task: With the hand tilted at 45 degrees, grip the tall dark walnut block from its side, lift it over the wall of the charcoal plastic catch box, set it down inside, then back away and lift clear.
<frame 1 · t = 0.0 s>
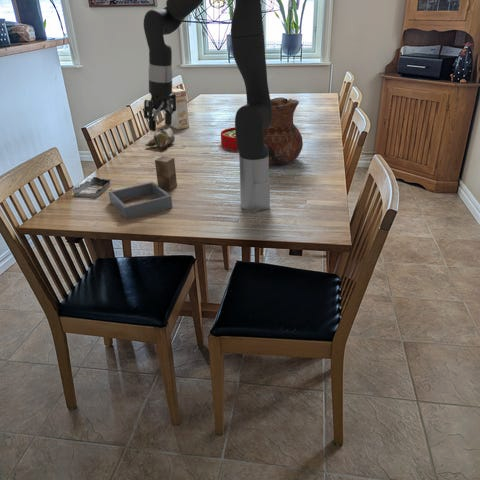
hand: (160, 127, 148), 22 cm above the table, fingers open, 8 cm apart
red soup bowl: (242, 144, 206), on the table
coffeecake box: (177, 126, 239), on the table
ceramic sculpture: (163, 146, 206), on the table
walnut block: (167, 187, 160), on the table
catch box: (140, 204, 146), on the table
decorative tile: (95, 191, 160), on the table
jug: (276, 161, 183), on the table
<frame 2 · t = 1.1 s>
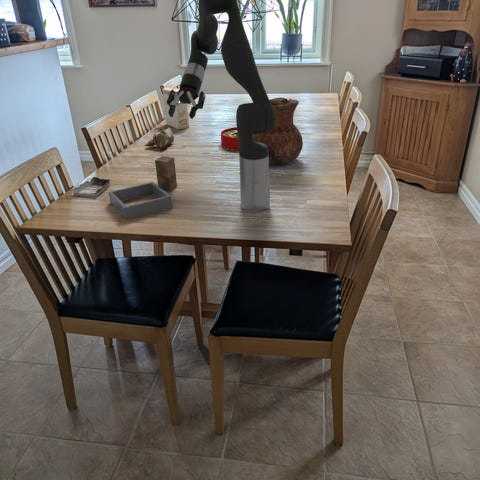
hand: (180, 116, 160), 23 cm above the table, fingers open, 8 cm apart
nothing on the table moved.
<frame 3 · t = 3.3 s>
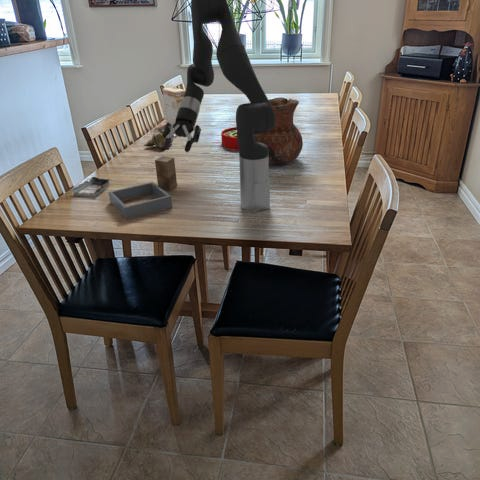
hand: (176, 150, 160), 12 cm above the table, fingers open, 8 cm apart
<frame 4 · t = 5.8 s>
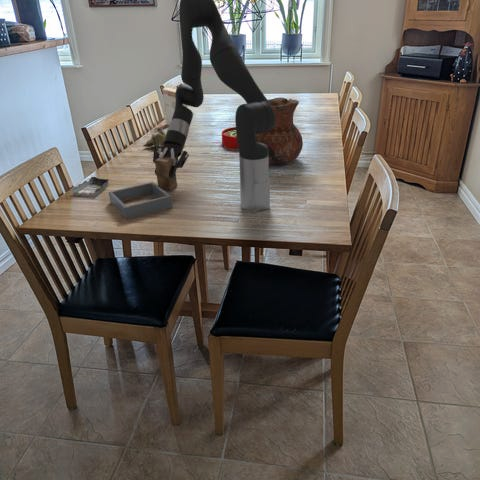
hand: (163, 175, 156), 5 cm above the table, fingers closed on walnut block, 5 cm apart
walnut block: (167, 187, 160), on the table, touching gripper
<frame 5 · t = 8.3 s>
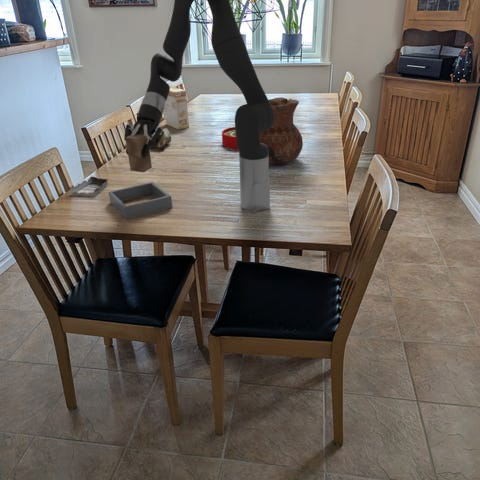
hand: (135, 155, 139), 17 cm above the table, fingers closed on walnut block, 5 cm apart
walnut block: (141, 169, 143), point 12 cm above the table, touching gripper
when the fingers open (7 cm above the table, at t = 11.1 s): walnut block drops 1 cm, resting in catch box.
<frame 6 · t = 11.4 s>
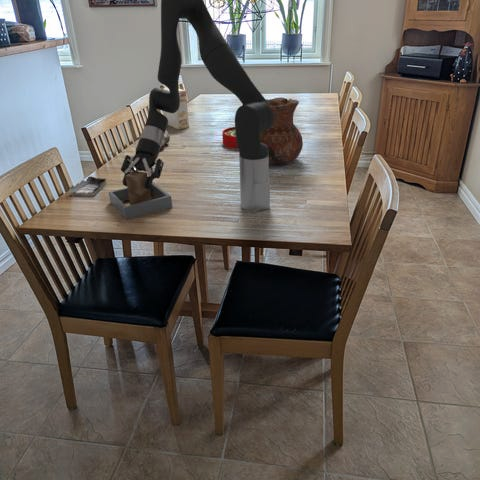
hand: (135, 186, 142), 7 cm above the table, fingers open, 8 cm apart
walnut block: (140, 204, 147), resting in catch box
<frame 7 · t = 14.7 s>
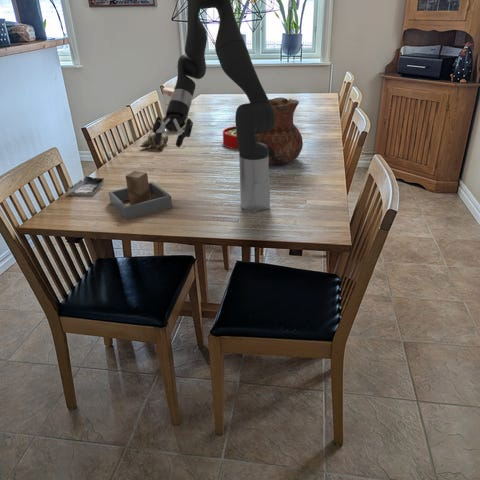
hand: (167, 145, 152), 16 cm above the table, fingers open, 8 cm apart
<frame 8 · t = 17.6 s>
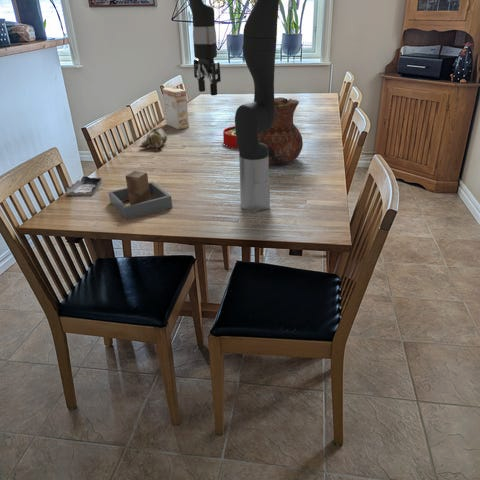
hand: (207, 93, 149), 32 cm above the table, fingers open, 8 cm apart
at the end: walnut block inside the target area on the catch box (0.0 cm from its centre), point 0.0 cm above the catch box's base; walnut block tilted 0°; the gripper is holding nothing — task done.
